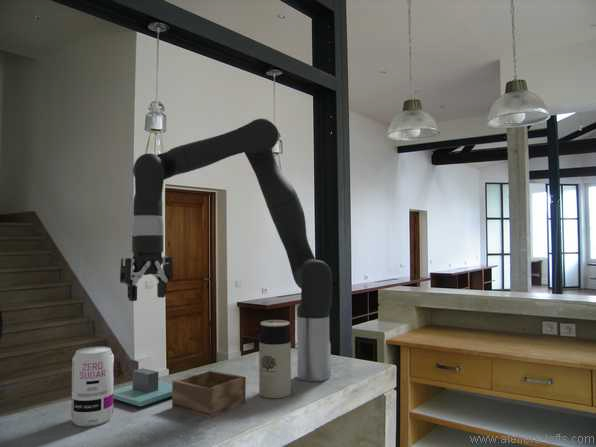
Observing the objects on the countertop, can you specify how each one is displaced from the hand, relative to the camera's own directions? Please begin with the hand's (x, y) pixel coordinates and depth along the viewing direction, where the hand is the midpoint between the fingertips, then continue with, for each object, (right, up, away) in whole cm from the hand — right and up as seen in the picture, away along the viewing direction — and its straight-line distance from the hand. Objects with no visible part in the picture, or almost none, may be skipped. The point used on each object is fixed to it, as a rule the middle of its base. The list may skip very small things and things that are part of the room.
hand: (147, 299), depth 117 cm
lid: (0, -24, -1) cm, 25 cm away
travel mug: (+32, -24, +1) cm, 40 cm away
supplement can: (-7, -24, -16) cm, 30 cm away
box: (+17, -24, -7) cm, 30 cm away
